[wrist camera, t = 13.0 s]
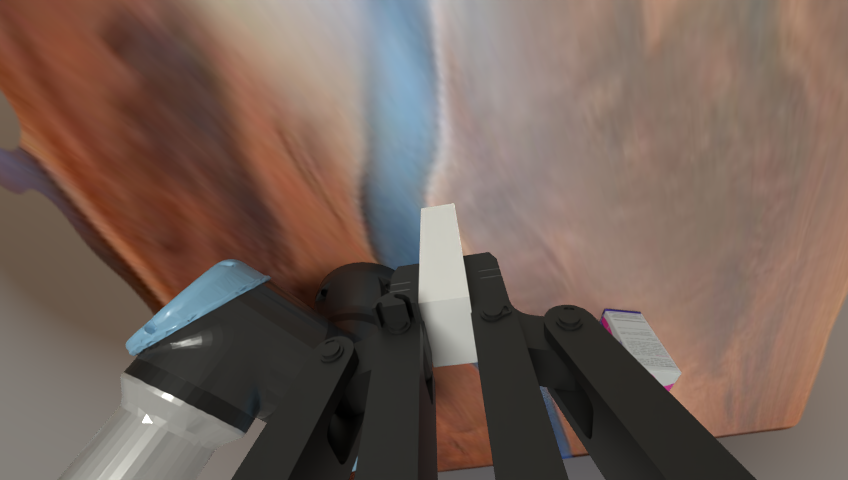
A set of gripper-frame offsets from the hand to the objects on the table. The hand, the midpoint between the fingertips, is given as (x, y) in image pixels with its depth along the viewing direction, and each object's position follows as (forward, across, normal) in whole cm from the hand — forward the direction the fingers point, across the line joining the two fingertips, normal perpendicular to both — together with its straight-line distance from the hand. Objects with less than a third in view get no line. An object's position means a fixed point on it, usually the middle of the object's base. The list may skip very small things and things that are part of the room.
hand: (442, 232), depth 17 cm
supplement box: (+29, +23, -36) cm, 52 cm away
